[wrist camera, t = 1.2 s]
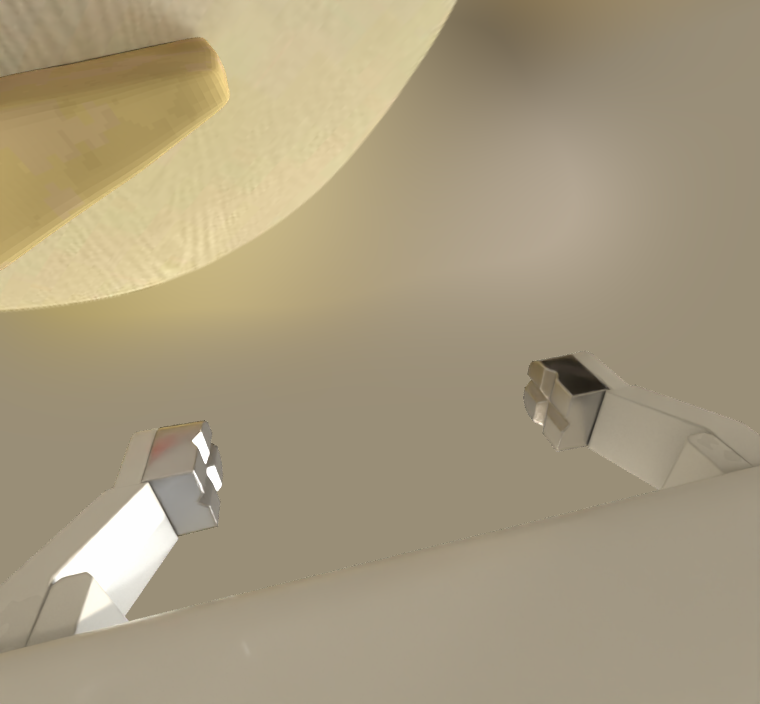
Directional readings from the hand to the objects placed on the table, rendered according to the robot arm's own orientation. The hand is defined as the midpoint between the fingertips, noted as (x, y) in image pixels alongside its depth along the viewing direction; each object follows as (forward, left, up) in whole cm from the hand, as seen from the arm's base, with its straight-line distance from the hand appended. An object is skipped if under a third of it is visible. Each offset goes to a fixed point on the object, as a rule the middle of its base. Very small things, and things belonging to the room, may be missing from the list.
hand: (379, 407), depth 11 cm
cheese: (+1, -9, -43) cm, 44 cm away
